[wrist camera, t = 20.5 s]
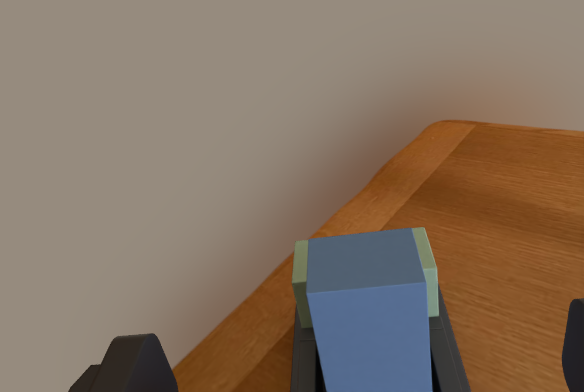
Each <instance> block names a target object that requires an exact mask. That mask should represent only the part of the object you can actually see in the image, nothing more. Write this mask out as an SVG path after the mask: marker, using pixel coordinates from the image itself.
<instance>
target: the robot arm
mask: <svg viewBox="0 0 584 392" xmlns="http://www.w3.org/2000/svg"><path fill="white" fill-rule="evenodd" d="M562 366H563V372H564V376H565V380H566V383H567V386H568V388H569V391H570V392H584V298H582V299H574V300H572V302H571V304H570V307H569V313H568V320H567V326H566V333H565V339H564V346H563V352H562ZM68 392H178V386H177V382H176V379H175V377H174V375H173V372H172V370H171V368H170V365H169V363H168V361H167V358H166V356H165V353H164V351H163V349H162V346H161V344H160V342H159V339H158V338H157V336H156V335H155V334H140V335H128V336H118V337H116V338H114V339H113V341H112V342H111V344H110V346H109V348H108V350H107V352H106V354H105V356H104V359H103V361H102V363H101V364H99V365H91V366H90V367H89V368H88V369H87V370H86V371H85V372H84V373H83V374H82V376H81V377H80V378H79V379H78V380H77V381H76V382H75V383H74V384H73V385H72V386H71V387H70V389H69V391H68Z"/></svg>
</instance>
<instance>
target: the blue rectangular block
mask: <svg viewBox="0 0 584 392" xmlns="http://www.w3.org/2000/svg"><path fill="white" fill-rule="evenodd" d="M306 297H307V302H308V307H309V311H310V316H311V321H312V326H313V331H314V335H315V340H316V345H317V350H318V354H319V359H320V364H321V369H322V374H323V378H324V383H325V388H326V392H432V378H431V358H430V338H429V318H428V298H427V282H426V278H425V274H424V271H423V267H422V263H421V260H420V256H419V252H418V248H417V245H416V241H415V237H414V234H413V230H412V228H404V229H395V230H386V231H377V232H368V233H359V234H350V235H341V236H332V237H323V238H314V239H309V240H308V258H307V280H306Z"/></svg>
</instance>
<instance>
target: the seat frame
mask: <svg viewBox="0 0 584 392" xmlns="http://www.w3.org/2000/svg"><path fill="white" fill-rule="evenodd" d="M412 230H413V234H414V237H415V241H416V245H417V248H418V252H419V256H420V260H421V263H422V267H423V271H424V274H425V278H426V282H427V298H428V318H429V338H430V358H431V378H432V392H471V390H470V386H469V383H468V380H467V376H466V373H465V370H464V366H463V363H462V360H461V356H460V353H459V350H458V347H457V343H456V340H455V337H454V333H453V330H452V327H451V323H450V320H449V317H448V313H447V310H446V307H445V304H444V300H443V297H442V294H441V290H440V287H439V284H438V280H437V267H436V263H435V260H434V257H433V254H432V250H431V247H430V244H429V241H428V238H427V234H426V231H425V228H424V227H420V228H412ZM307 258H308V240H304V241H296V242H295V249H294V261H293V274H292V286H293V291H294V295H295V299H296V313H295V328H294V344H293V359H292V374H291V390H290V392H326V388H325V383H324V378H323V374H322V369H321V364H320V359H319V354H318V350H317V345H316V340H315V335H314V331H313V326H312V321H311V316H310V311H309V307H308V302H307V297H306V280H307Z"/></svg>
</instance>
